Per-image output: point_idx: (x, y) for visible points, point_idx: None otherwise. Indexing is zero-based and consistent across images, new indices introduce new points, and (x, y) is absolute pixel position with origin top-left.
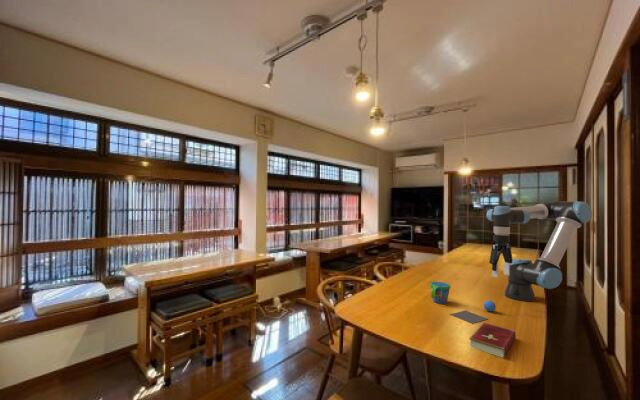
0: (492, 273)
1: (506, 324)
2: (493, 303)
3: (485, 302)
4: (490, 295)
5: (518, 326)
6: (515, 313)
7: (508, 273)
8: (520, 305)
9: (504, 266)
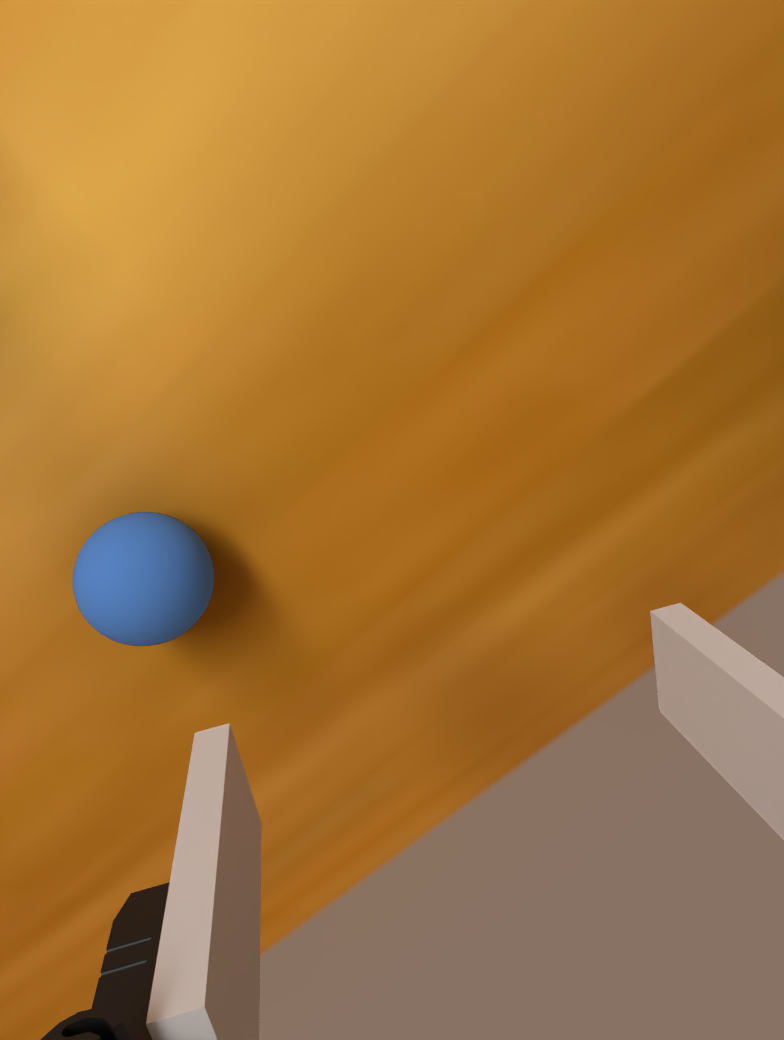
0: (191, 782)
1: (62, 842)
2: (153, 640)
3: (84, 576)
4: (670, 60)
5: (142, 883)
6: (395, 647)
7: (679, 730)
8: (668, 473)
9: (781, 733)
